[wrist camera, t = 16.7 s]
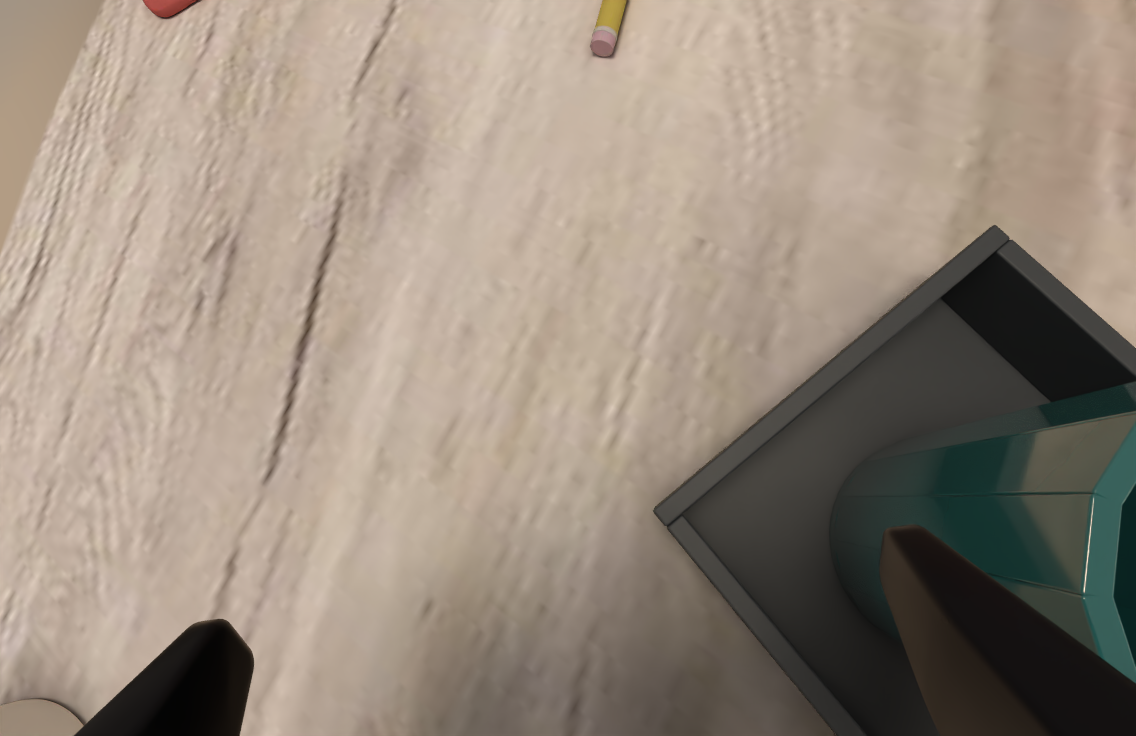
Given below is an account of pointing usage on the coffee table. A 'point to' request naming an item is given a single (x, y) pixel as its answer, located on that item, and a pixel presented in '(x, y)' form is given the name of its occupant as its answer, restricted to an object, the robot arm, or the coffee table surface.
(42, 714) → the mug
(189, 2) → the smartphone
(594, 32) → the pencil
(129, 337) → the coffee table surface
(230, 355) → the coffee table surface
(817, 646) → the dark gray tray
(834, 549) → the tumbler
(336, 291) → the coffee table surface
